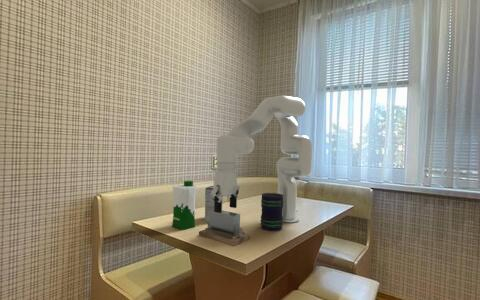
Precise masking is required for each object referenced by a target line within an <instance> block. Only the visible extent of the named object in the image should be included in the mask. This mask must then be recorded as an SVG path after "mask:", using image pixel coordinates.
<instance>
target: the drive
mask: <svg viewBox="0 0 480 300" xmlns="http://www.w3.org/2000/svg"><path fill="white" fill-rule="evenodd" d="M240 226H241V213H238V212H233V211H227V210H223V209H222V212H221V213H218V212H215V211H214V210H212V211H210V229H213V230H217V231H221V232H225V233H229V234H233V237H235V236H237V235H238V228H240Z"/></svg>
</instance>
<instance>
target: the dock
mask: <svg viewBox="0 0 480 300" xmlns="http://www.w3.org/2000/svg"><path fill="white" fill-rule="evenodd" d="M198 236H200V237H203V238H207V239H210V240H212V241H213V240H214V241H217V242H220V243H225V244H228V245H231V246H237V245H239V244H241V243H243V242H245V241H248V240H249V239H251V234H250V233H249V234H248V233H244V229H243V227H240V228H238V235H237V236H235V237H233V234H229V233H225V232H221V231H217V230H213V229H210V220H208V221H207V227H205V228H204V229H203V230H200V231H199V230H198Z"/></svg>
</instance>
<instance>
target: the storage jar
mask: <svg viewBox="0 0 480 300" xmlns="http://www.w3.org/2000/svg"><path fill="white" fill-rule="evenodd" d="M260 205H261V215H260V229H261V230H263V231H267V232H280V231H282V230H283V225H284V222H283V216H282V208H283V195H282V194H278V192H277V193H275V192H265V193H262V194H261V202H260Z"/></svg>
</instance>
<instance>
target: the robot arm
mask: <svg viewBox="0 0 480 300" xmlns="http://www.w3.org/2000/svg"><path fill="white" fill-rule="evenodd" d="M305 111H306V104H305V102H304V100H302V99H301V98H299V97H293V96H288V95H277V96H270V97H266V98H264V99H263V100H262V101H261V102H260V103H259V104H258V106H257V107H256V109H255V110H254V111H253V112H252V114H251V115H250V116H249V117H247V118H245V119H244V120H243V121H241V122H240V123H238V124H236V125H235V126H234V127H233V128H232V129H231V130H230V131H229V132H228V134H227V135H220V136H218V137H217V139H216V170H215V173H214V177H213V178H214V179H213V186H214V187H213V190H212V191H211V196H212V199H213V201H214V211H215V212H218V213H221V212H222V210H223V199H224V197H229V196H230V197H229V207H230V208H233V209H236V208H237V205H238V204H237V203H238V201H237V200H238V194H239V191H240V188H241V187H240V185H238V180H237V177H238V176H237V171H236V170H237V169H236V166H237V165H236V164H237V163H236V161H237V155H247V154H250V153H252V151H254V148H255V142H254V140H253V138H251V137H249V136H252V135H255V134H257V133H260V132H262V131H264V130H265V129H266V128H267V127H268V125H269V123H271V120H273V118H274V117H275V118H276V119H277V120H278V122H279V124H280V131H281V132H280V150H281V152H282V153H283V154H284V155H295V156H297V157H295V156H294V157H291V156H285V157H284V156H283V157H280V158H279V159H278V160H277V163H276V173H277V174H276V175H277V194H282V195H283V208H282V216H283V223H297V222H299V221H300V217H299V216H297V213H298V212H299V211H298V209H297V200H298V199H297V198H298V197H297V196H298V184H297V181H296V178H307V177H309V176H310V174H311V171H312V162H313V161H312V158H313V143H312V140H311V138H309V136H307V135H299V125H298V122H297V120H296V119H295V117H297V118H298V117H301V116H303V115H304V114H305ZM218 197H219V199H218ZM221 200H222V202H221Z"/></svg>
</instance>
